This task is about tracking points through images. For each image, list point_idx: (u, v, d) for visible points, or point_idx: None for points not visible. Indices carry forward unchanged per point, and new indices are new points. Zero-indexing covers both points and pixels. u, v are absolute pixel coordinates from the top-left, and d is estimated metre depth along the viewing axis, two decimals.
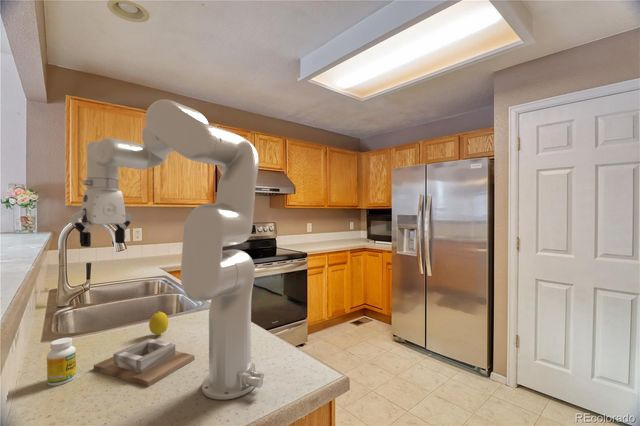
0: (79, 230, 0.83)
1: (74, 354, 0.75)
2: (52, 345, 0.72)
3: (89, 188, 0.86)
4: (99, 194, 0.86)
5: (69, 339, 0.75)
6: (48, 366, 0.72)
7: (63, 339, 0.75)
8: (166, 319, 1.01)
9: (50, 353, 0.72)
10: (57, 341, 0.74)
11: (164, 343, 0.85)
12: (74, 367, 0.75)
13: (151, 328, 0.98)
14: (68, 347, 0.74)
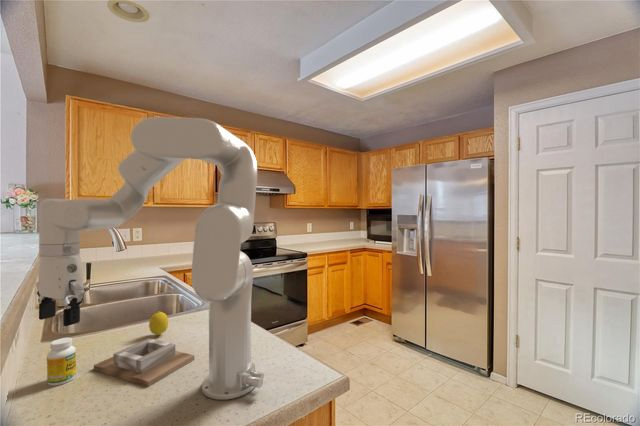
0: (75, 306, 0.72)
1: (74, 354, 0.75)
2: (52, 345, 0.72)
3: (69, 255, 0.73)
4: None
5: (69, 339, 0.75)
6: (48, 366, 0.72)
7: (63, 339, 0.75)
8: (166, 319, 1.01)
9: (50, 353, 0.72)
10: (57, 341, 0.74)
11: (164, 343, 0.85)
12: (74, 367, 0.75)
13: (151, 328, 0.98)
14: (68, 347, 0.74)
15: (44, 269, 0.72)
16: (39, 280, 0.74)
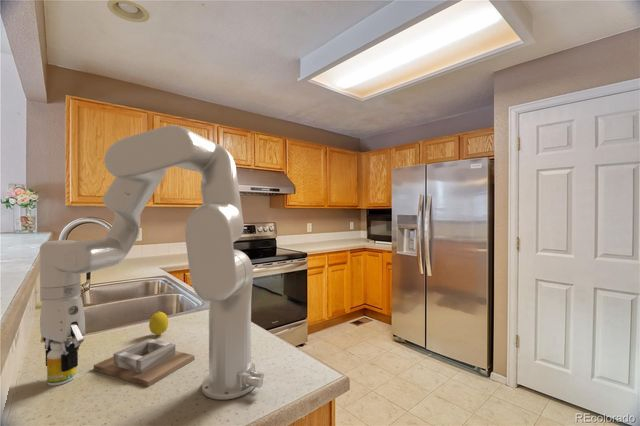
0: (72, 351, 0.73)
1: None
2: (52, 345, 0.72)
3: (70, 297, 0.73)
4: None
5: None
6: (48, 366, 0.72)
7: None
8: (166, 319, 1.01)
9: (50, 353, 0.72)
10: (57, 341, 0.74)
11: (164, 343, 0.85)
12: (74, 367, 0.75)
13: (151, 328, 0.98)
14: None
15: (45, 312, 0.73)
16: (41, 322, 0.74)
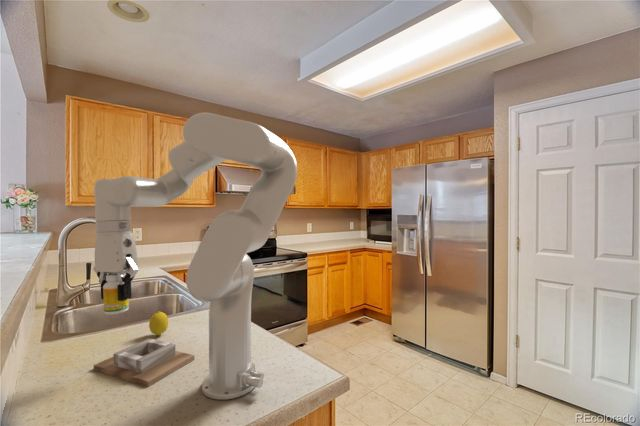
0: (127, 281, 0.77)
1: None
2: (108, 276, 0.77)
3: (124, 231, 0.77)
4: None
5: None
6: (105, 296, 0.76)
7: (116, 273, 0.79)
8: (166, 319, 1.01)
9: (106, 284, 0.77)
10: (111, 274, 0.78)
11: (164, 343, 0.85)
12: (127, 299, 0.79)
13: (151, 328, 0.98)
14: None
15: (101, 245, 0.77)
16: (96, 256, 0.78)
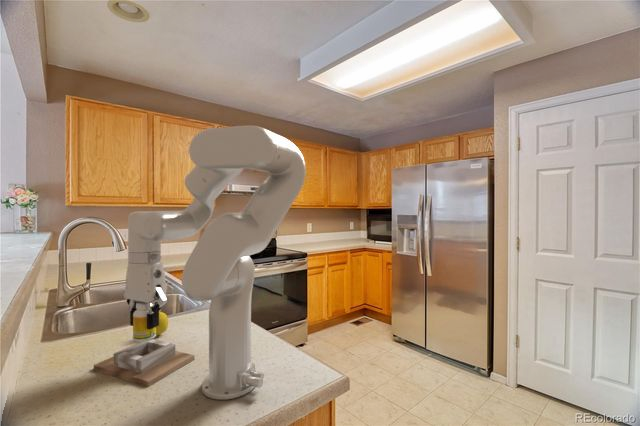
0: (156, 311, 0.80)
1: None
2: (138, 305, 0.80)
3: (154, 262, 0.80)
4: None
5: None
6: (135, 324, 0.80)
7: None
8: (166, 319, 1.01)
9: (136, 312, 0.80)
10: (141, 302, 0.81)
11: (164, 343, 0.85)
12: None
13: None
14: None
15: (132, 275, 0.80)
16: (127, 285, 0.81)
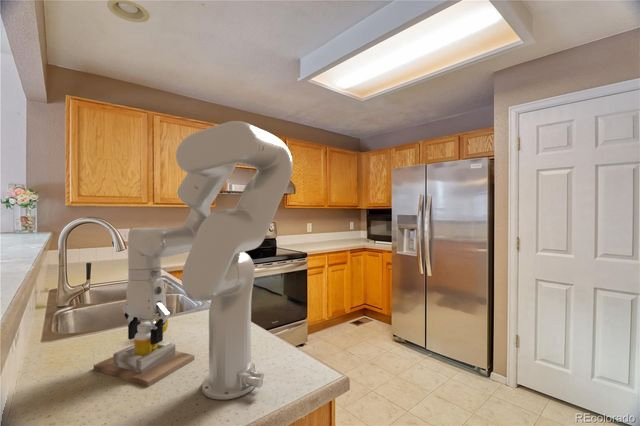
0: (160, 326, 0.80)
1: None
2: (140, 328, 0.80)
3: (155, 279, 0.80)
4: None
5: None
6: (136, 347, 0.79)
7: (147, 323, 0.82)
8: None
9: (138, 335, 0.80)
10: (142, 324, 0.81)
11: (164, 343, 0.85)
12: (157, 348, 0.82)
13: None
14: None
15: (132, 292, 0.80)
16: (127, 302, 0.81)
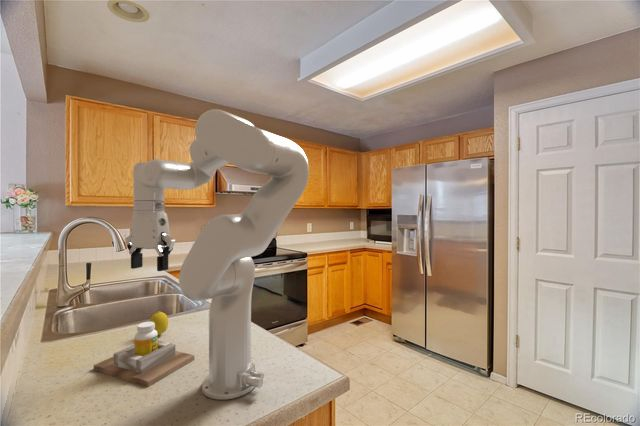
0: (166, 254, 0.83)
1: (157, 337, 0.82)
2: (140, 328, 0.80)
3: (159, 211, 0.84)
4: None
5: (152, 323, 0.82)
6: (136, 347, 0.79)
7: (147, 323, 0.82)
8: (166, 319, 1.01)
9: (138, 335, 0.80)
10: (142, 324, 0.81)
11: (164, 343, 0.85)
12: (157, 348, 0.82)
13: None
14: (152, 330, 0.82)
15: (137, 223, 0.84)
16: (132, 233, 0.85)
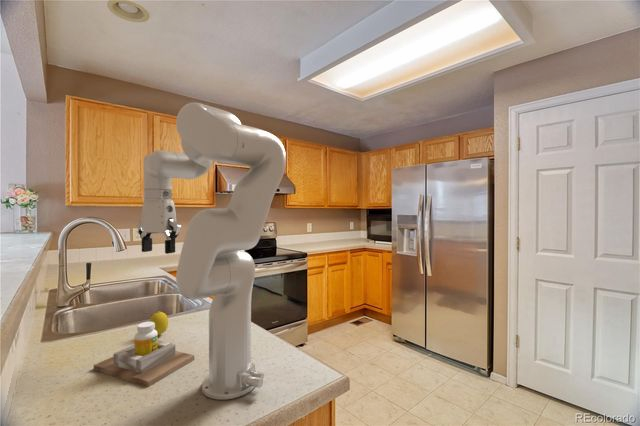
0: (173, 238, 0.91)
1: (157, 337, 0.82)
2: (140, 328, 0.80)
3: (167, 199, 0.92)
4: None
5: (152, 323, 0.82)
6: (136, 347, 0.79)
7: (147, 323, 0.83)
8: (166, 319, 1.01)
9: (138, 335, 0.80)
10: (142, 324, 0.81)
11: (164, 343, 0.85)
12: (157, 348, 0.82)
13: None
14: (152, 330, 0.82)
15: (147, 210, 0.92)
16: (142, 219, 0.93)
